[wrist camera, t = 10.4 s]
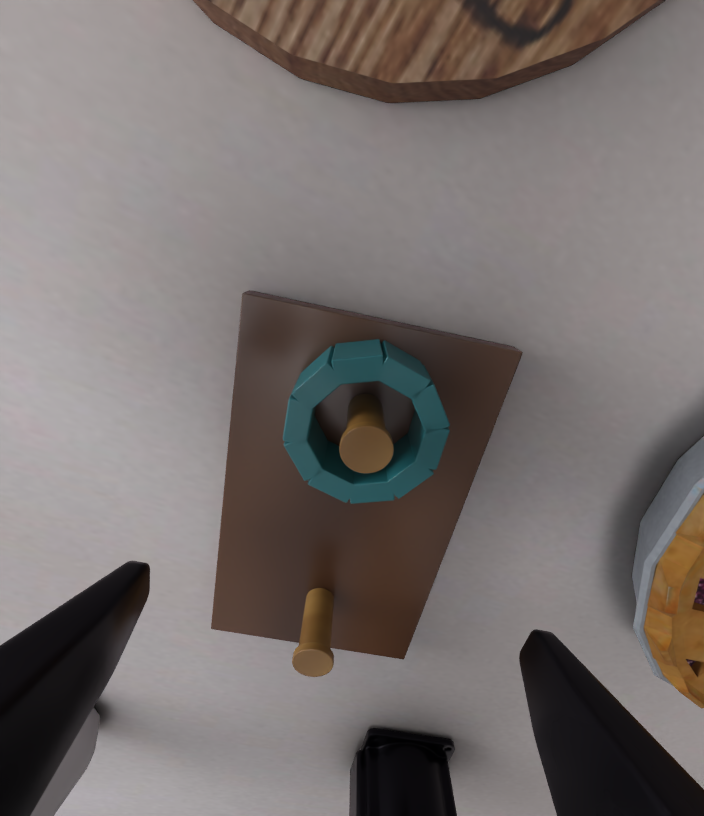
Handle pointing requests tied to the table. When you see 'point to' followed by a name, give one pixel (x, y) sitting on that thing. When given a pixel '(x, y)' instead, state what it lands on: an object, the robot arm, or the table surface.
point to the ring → (410, 452)
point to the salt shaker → (70, 768)
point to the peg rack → (328, 516)
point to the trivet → (424, 41)
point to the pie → (674, 578)
